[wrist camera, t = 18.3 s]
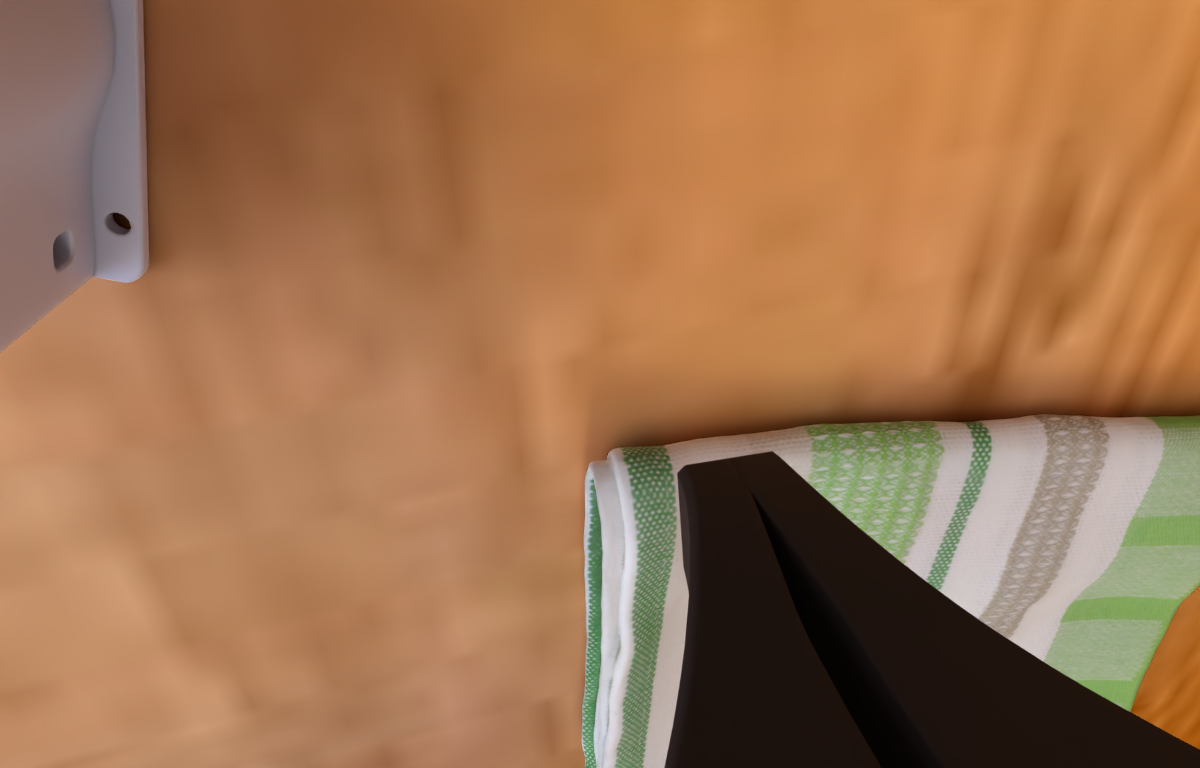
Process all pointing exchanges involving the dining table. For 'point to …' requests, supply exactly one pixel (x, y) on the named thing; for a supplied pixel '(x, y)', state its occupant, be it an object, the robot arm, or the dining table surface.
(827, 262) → the dining table surface
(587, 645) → the dish towel
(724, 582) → the robot arm
